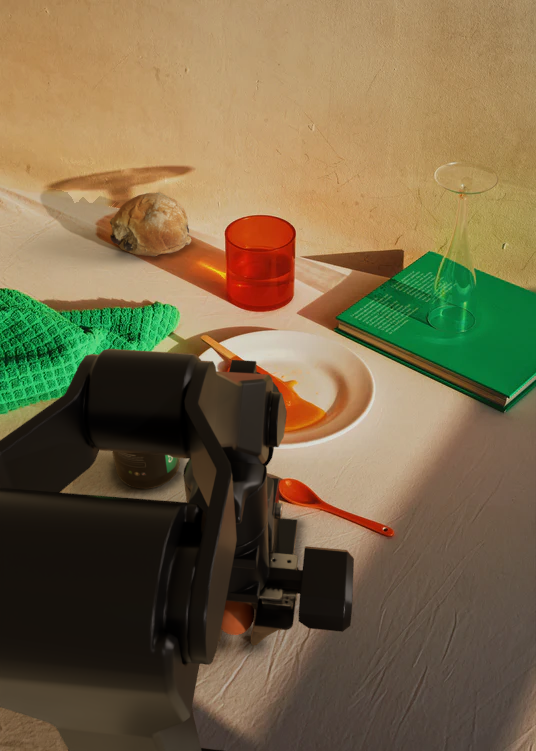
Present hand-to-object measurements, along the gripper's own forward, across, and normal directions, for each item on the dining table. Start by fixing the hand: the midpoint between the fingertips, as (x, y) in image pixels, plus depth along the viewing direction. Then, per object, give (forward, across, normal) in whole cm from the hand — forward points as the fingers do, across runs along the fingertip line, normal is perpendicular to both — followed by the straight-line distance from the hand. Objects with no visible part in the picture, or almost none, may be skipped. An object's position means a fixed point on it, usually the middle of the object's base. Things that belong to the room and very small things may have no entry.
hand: (236, 638), depth 63 cm
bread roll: (+2, +27, -69) cm, 74 cm away
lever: (-4, 0, -5) cm, 6 cm away
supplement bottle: (+1, +13, -19) cm, 23 cm away
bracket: (0, 0, -8) cm, 8 cm away
